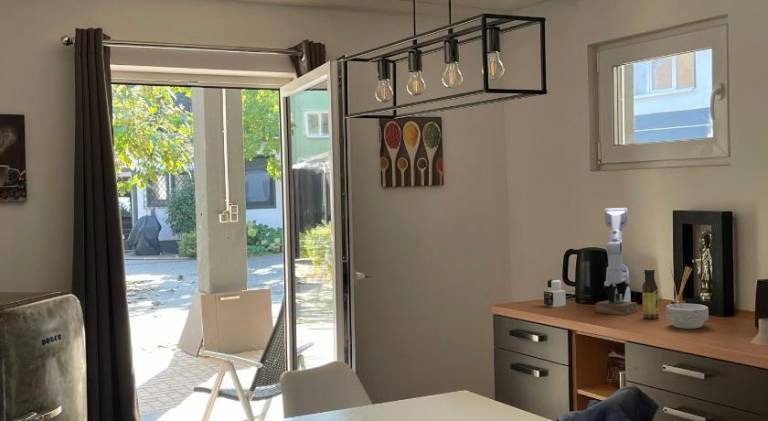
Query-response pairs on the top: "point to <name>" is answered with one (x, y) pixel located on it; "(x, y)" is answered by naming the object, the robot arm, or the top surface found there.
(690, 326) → the grey stone bowl
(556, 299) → the medicine bottle
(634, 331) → the top surface
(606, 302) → the brown wooden block
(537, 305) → the top surface
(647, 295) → the sauce bottle
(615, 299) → the rail bracket
